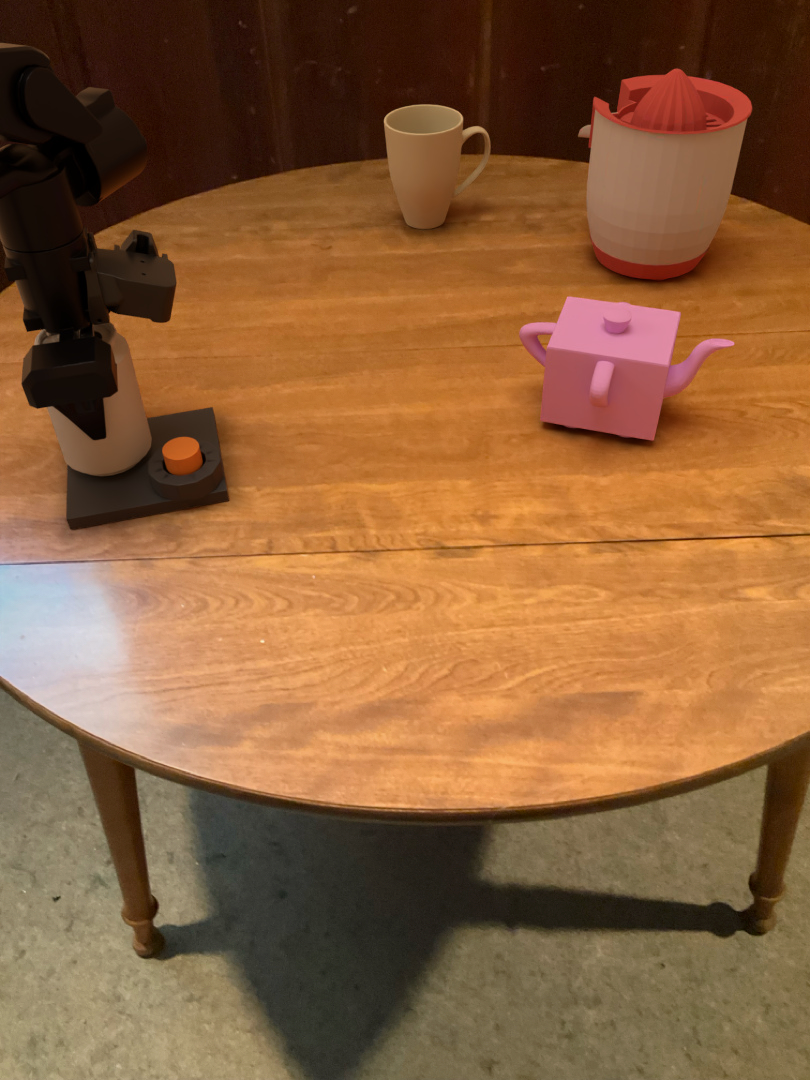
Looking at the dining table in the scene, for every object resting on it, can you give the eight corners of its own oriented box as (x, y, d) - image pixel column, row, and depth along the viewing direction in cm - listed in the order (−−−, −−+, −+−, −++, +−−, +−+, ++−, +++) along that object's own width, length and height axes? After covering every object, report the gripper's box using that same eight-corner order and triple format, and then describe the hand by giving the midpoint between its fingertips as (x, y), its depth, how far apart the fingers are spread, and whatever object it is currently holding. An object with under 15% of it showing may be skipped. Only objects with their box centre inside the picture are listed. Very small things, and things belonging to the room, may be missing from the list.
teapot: (719, 388, 87) (743, 291, 80) (704, 482, 77) (730, 381, 70) (530, 358, 91) (538, 264, 84) (495, 444, 82) (500, 345, 75)
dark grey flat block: (70, 533, 75) (59, 506, 73) (71, 441, 84) (61, 415, 82) (229, 504, 77) (223, 477, 75) (214, 417, 86) (209, 390, 84)
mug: (437, 246, 108) (437, 142, 100) (373, 223, 113) (367, 122, 104) (491, 212, 114) (495, 111, 106) (428, 192, 119) (427, 93, 110)
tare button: (167, 479, 76) (163, 462, 74) (165, 456, 78) (161, 440, 77) (204, 472, 76) (200, 455, 75) (201, 450, 78) (197, 433, 77)
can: (143, 482, 78) (110, 360, 69) (54, 482, 78) (11, 360, 69) (161, 428, 83) (133, 309, 75) (78, 428, 83) (41, 308, 75)
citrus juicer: (606, 209, 114) (629, 31, 99) (740, 248, 106) (786, 60, 92) (537, 260, 105) (551, 73, 91) (678, 307, 97) (717, 109, 83)
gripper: (164, 279, 61) (206, 462, 72) (150, 168, 74) (187, 337, 85) (-12, 305, 59) (59, 488, 70) (5, 186, 72) (62, 356, 83)
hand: (99, 410), depth 77 cm, fingers closed on can, 7 cm apart
